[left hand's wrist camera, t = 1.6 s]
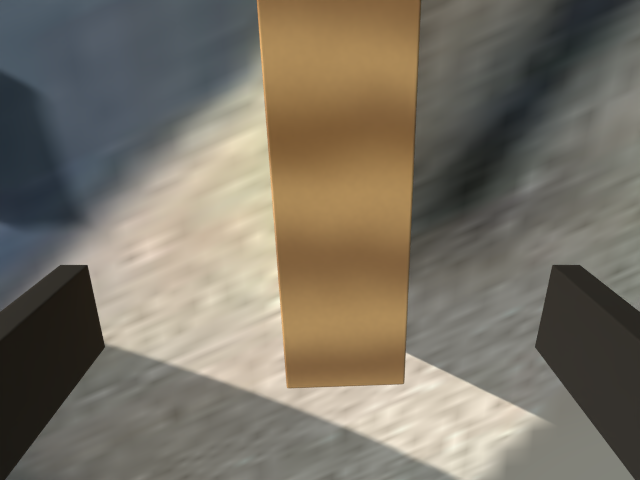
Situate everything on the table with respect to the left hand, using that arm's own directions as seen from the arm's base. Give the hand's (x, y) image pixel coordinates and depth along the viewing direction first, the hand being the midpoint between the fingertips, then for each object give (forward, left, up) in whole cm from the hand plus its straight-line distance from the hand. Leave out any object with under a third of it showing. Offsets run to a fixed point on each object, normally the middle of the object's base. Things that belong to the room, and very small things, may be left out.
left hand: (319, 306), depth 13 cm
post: (+9, +24, -14) cm, 29 cm away
